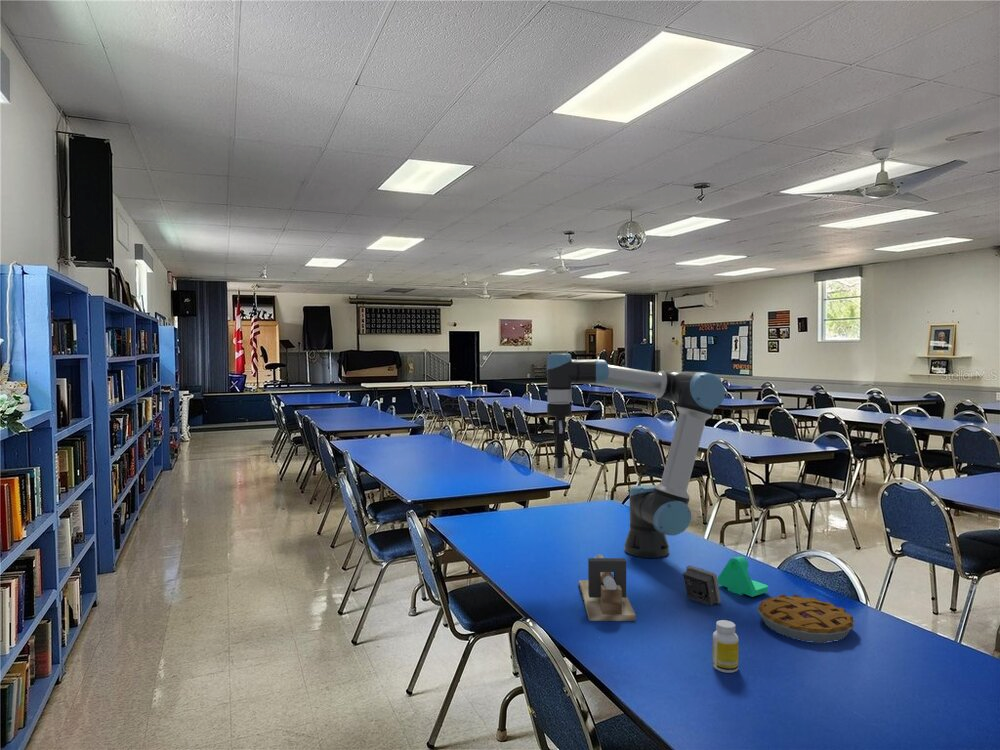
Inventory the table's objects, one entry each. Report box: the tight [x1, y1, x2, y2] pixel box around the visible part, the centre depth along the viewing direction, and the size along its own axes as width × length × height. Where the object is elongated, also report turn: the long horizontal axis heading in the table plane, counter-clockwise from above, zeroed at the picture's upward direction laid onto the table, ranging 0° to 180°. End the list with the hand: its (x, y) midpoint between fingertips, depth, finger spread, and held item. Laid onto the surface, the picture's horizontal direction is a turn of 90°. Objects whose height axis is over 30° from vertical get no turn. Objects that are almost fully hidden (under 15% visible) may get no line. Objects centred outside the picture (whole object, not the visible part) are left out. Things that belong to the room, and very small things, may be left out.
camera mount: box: [717, 555, 769, 598], centre depth 183 cm, size 12×8×10 cm, turn 32°
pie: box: [756, 594, 856, 642], centre depth 159 cm, size 22×22×5 cm
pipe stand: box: [578, 576, 637, 622], centre depth 175 cm, size 12×25×8 cm, turn 179°
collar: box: [587, 557, 627, 598], centre depth 171 cm, size 10×2×10 cm, turn 89°
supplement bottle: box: [712, 619, 740, 674], centre depth 138 cm, size 5×5×10 cm
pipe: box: [594, 553, 618, 595], centre depth 175 cm, size 3×24×3 cm, turn 179°
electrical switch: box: [682, 564, 722, 607], centre depth 175 cm, size 9×5×9 cm, turn 38°
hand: (559, 477), depth 197 cm, fingers closed
